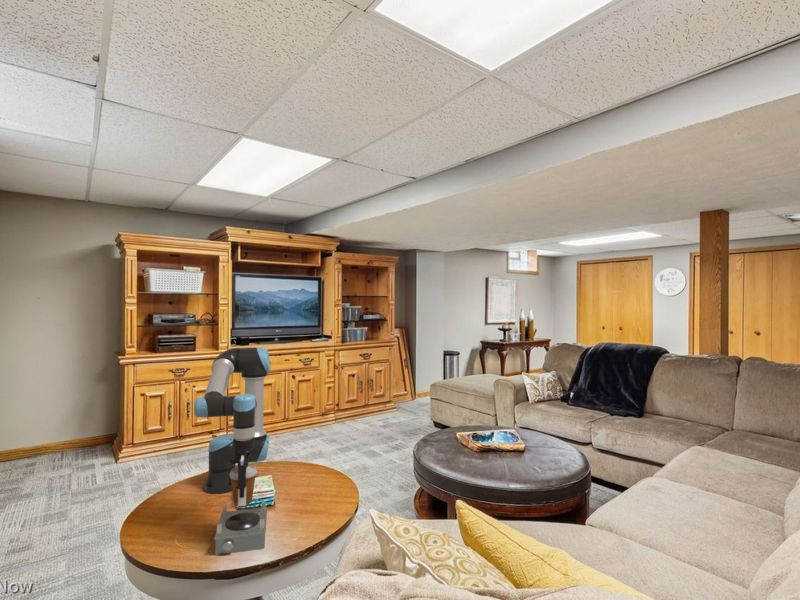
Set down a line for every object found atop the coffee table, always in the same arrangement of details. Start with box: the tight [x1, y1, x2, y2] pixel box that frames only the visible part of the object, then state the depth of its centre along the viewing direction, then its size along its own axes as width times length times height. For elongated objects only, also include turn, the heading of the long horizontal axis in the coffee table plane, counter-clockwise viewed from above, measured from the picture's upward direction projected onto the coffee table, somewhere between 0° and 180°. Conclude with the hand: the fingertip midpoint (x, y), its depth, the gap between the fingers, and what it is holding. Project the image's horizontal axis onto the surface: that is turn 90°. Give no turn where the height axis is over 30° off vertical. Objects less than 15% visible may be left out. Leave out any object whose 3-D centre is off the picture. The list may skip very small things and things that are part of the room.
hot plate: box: [214, 501, 268, 556], centre depth 156 cm, size 20×17×9 cm
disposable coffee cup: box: [229, 464, 258, 507], centre depth 156 cm, size 10×10×12 cm
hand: (243, 500), depth 156 cm, fingers closed on disposable coffee cup, 8 cm apart
